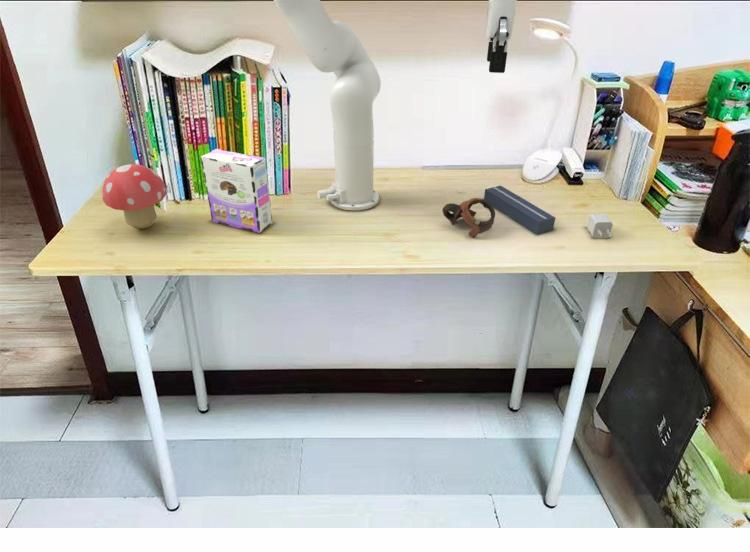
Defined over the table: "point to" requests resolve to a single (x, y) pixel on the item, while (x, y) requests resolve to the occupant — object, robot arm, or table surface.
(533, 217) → the pencil case
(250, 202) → the candy box
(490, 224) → the brown curved looped piece
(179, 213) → the table surface
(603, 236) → the usb wall charger
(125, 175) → the decorative mushroom
